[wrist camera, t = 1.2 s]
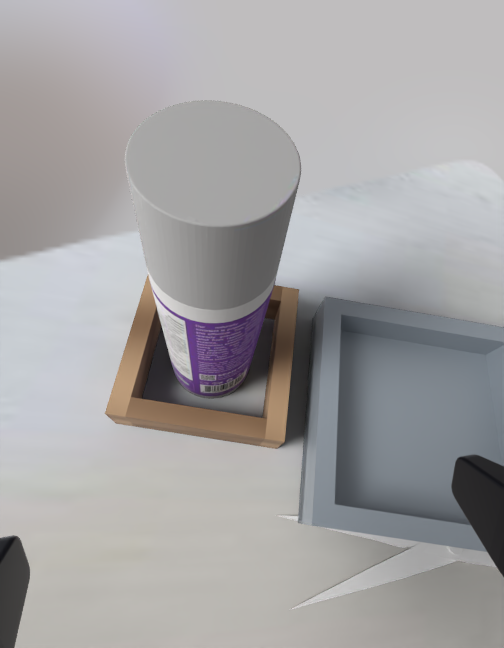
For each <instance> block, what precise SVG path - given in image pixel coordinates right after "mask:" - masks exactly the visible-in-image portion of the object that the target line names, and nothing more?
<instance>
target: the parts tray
mask: <svg viewBox="0 0 504 648" xmlns="http://www.w3.org/2000/svg"><path fill="white" fill-rule="evenodd" d="M472 454H476V455H479V456H482V457H484V458H486V459H489V460H491V461H493V462H495V463H498V464H500V465H502V466H504V327H499V326H493V325H488V324H482V323H476V322H470V321H464V320H458V319H453V318H447V317H441V316H435V315H429V314H423V313H418V312H412V311H406V310H400V309H394V308H388V307H383V306H377V305H371V304H365V303H359V302H353V301H348V300H342V299H336V298H330V297H325V298H324V300H323V301H322V303H321V305H320V307H319V309H318V310H317V312H316V314H315V316H314V318H313V321H312V335H311V348H310V362H309V376H308V390H307V403H306V417H305V431H304V445H303V459H302V472H301V486H300V500H299V514H298V523H302V524H307V525H312V526H319V527H325V528H332V529H338V530H345V531H352V532H358V533H365V534H371V535H378V536H385V537H391V538H398V539H404V540H411V541H418V542H424V543H431V544H437V545H444V546H451V547H457V548H464V549H470V550H477V551H484V552H487V551H486V549H485V548H484V546H483V544H482V543H481V541H480V539H479V538H478V536H477V534H476V533H475V531H474V529H473V528H472V526H471V524H470V523H469V521H468V519H467V518H466V516H465V515H464V513H463V511H462V510H461V508H460V506H459V505H458V503H457V501H456V500H455V498H454V496H453V493H452V489H451V483H452V478H453V472H454V467H455V462H456V460H457V458H458V457H461V456H466V455H472Z"/></svg>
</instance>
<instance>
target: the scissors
mask: <svg viewBox="0 0 504 648" xmlns="http://www.w3.org/2000/svg"><path fill="white" fill-rule="evenodd" d="M276 516H280V517H284V518H288V519H291V520H295V521H298V516H284V515H276ZM318 527H319V526H318ZM322 528H325V527H322ZM326 529H330V530H334V531H338V532H341V533H345V534H350V535H354V536H359V537H363V538H368V539H372V540H375V541H379V542H382V543H386V544H389V545H393V546H396V547H400V548H406V547H411V548H410V549H408V550H406V551H404V552H402V553H400V554H398V555H396V556H394V557H392V558H389V559H387V560H385V561H383V562H381V563H379V564H377V565H375V566H373V567H371V568H369V569H367V570H365V571H363V572H361V573H359V574H357V575H355V576H353V577H352V578H350V579H348V580H346V581H344V582H342V583H340V584H338V585H336V586H334V587H332V588H330V589H328V590H326V591H324V592H323V593H321V594H319V595H317V596H315V597H313V598H311V599H309V600H307V601H305V602H303V603H301V604H299V605H297V606H295V607H293V608H292V609H294V608H298V607H302V606H305V605H309V604H313V603H316V602H320V601H324V600H327V599H331V598H335V597H338V596H342V595H346V594H349V593H353V592H357V591H360V590H364V589H368V588H371V587H375V586H379V585H382V584H386V583H389V582H393V581H397V580H400V579H403V578H407V577H410V576H413V575H416V574H419V573H422V572H426V571H429V570H432V569H435V568H438V567H441V566H444V565H448V564H450V563H453V562H456V561H461V562H465V563H471V564H477V565H484V566H490V567H495V568H497V567H496V565H495V564H494V562H493V560H492V559H491V557H490V556H489V554H488V553H487V552H484V551H477V550H470V549H464V548H457V547H451V546H444V545H437V544H431V543H424V542H418V541H411V540H404V539H398V538H391V537H385V536H378V535H371V534H365V533H358V532H352V531H345V530H338V529H332V528H326ZM290 610H291V609H290Z"/></svg>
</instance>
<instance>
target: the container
mask: <svg viewBox="0 0 504 648" xmlns="http://www.w3.org/2000/svg"><path fill="white" fill-rule="evenodd" d="M125 168H126V172H127V177H128V181H129V186H130V191H131V196H132V200H133V205H134V210H135V214H136V219H137V223H138V228H139V233H140V238H141V242H142V247H143V252H144V256H145V261H146V266H147V271H148V275H149V280H150V284H151V288H152V292H153V295H154V299H155V303H156V307H157V310H158V314H159V318H160V322H161V325H162V329H163V333H164V337H165V340H166V344H167V348H168V352H169V355H170V359H171V363H172V367H173V370H174V373H175V376H176V378H177V380H178V381H179V383H180V384H181V385H182V386H183V387H184V388H185V389H186V390H187V391H189V392H190V393H192V394H194V395H196V396H199V397H203V398H219V397H223V396H226V395H228V394H230V393H232V392H233V391H235V390H236V389H237V388H238V387H239V386H240V385H241V384H242V383H243V381H244V380H245V378H246V376H247V374H248V371H249V368H250V365H251V361H252V358H253V355H254V351H255V348H256V345H257V341H258V338H259V335H260V331H261V328H262V325H263V321H264V318H265V314H266V311H267V308H268V304H269V301H270V298H271V294H272V291H273V288H274V284H275V280H276V275H277V271H278V266H279V262H280V258H281V254H282V250H283V246H284V242H285V238H286V234H287V230H288V226H289V221H290V217H291V213H292V209H293V205H294V201H295V197H296V193H297V189H298V185H299V180H300V175H301V162H300V157H299V154H298V151H297V149H296V146H295V145H294V143H293V141H292V140H291V138H290V137H289V136H288V134H287V133H286V132H285V131H284V130H283V129H282V128H281V127H280V126H279V125H278V124H277V123H275V122H274V121H272V120H271V119H270V118H268V117H266V116H265V115H263V114H261V113H259V112H257V111H255V110H252V109H250V108H247V107H244V106H241V105H237V104H233V103H227V102H221V101H192V102H185V103H181V104H177V105H173V106H170V107H167V108H165V109H163V110H160V111H159V112H156V113H155V114H153V115H151V116H150V117H148V118H147V119H146V120H145V121H143V122H142V123H141V124H140V125H139V126H138V127H137V129H136V130H135V131H134V133H133V135H132V136H131V138H130V140H129V142H128V144H127V148H126V153H125Z"/></svg>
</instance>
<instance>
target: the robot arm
mask: <svg viewBox="0 0 504 648" xmlns="http://www.w3.org/2000/svg"><path fill="white" fill-rule="evenodd" d="M451 489H452V493H453V496H454V498H455V500H456V501H457V503H458V505H459V506H460V508H461V510H462V511H463V513H464V515H465V516H466V518H467V519H468V521H469V523H470V524H471V526H472V528H473V529H474V531H475V533H476V534H477V536H478V538H479V539H480V541H481V543H482V544H483V546H484V548H485V549H486V551H487V553H488V554H489V556H490V557H491V559H492V560H493V562H494V564H495V565H496V567H497V568H498V570H499V571H500V572H501V574H502V575H503V577H504V466H502V465H500V464H498V463H495V462H493V461H491V460H489V459H486V458H484V457H482V456H479V455H476V454H472V455H466V456H461V457H458V458H457V460H456V462H455V467H454V472H453V478H452V483H451ZM29 579H30V567H29V563H28V560H27V558H26V555H25V552H24V549H23V546H22V543H21V540H20V538H19V537H17V536H8V537H2V538H0V648H14V647H15V642H16V638H17V633H18V629H19V624H20V620H21V615H22V611H23V606H24V602H25V597H26V593H27V589H28V584H29Z"/></svg>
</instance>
